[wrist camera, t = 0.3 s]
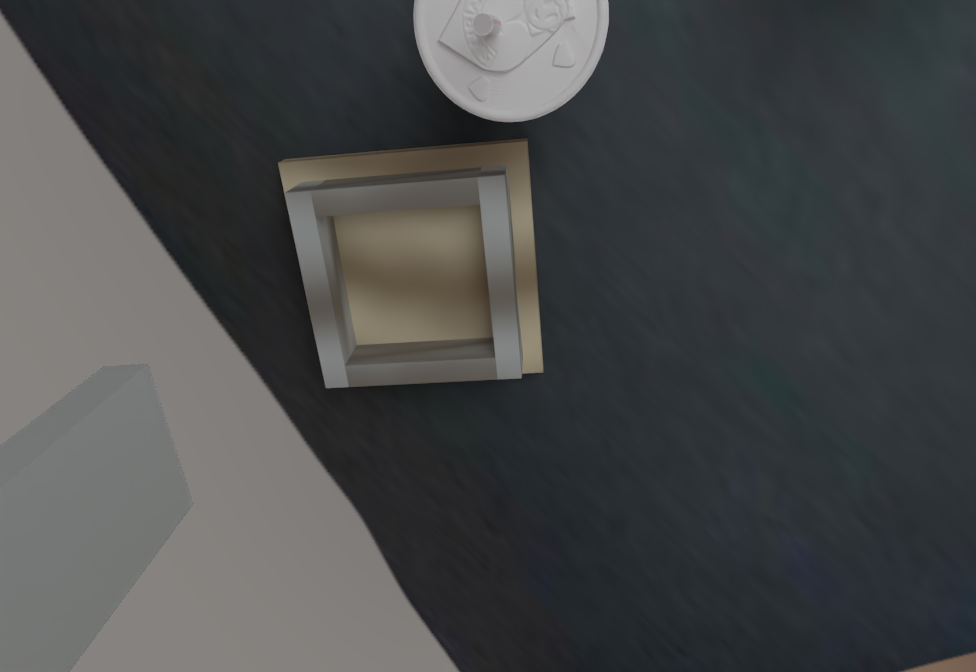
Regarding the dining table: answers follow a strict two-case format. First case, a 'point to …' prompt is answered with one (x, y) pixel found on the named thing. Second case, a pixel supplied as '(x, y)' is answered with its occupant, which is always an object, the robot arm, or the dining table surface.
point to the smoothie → (510, 52)
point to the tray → (418, 262)
